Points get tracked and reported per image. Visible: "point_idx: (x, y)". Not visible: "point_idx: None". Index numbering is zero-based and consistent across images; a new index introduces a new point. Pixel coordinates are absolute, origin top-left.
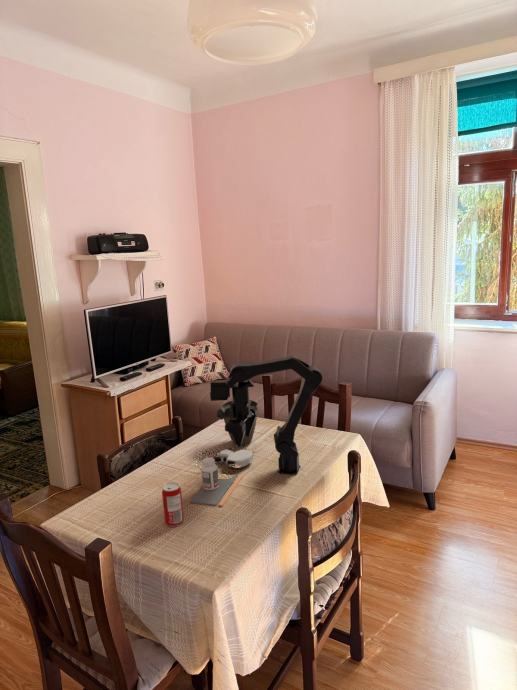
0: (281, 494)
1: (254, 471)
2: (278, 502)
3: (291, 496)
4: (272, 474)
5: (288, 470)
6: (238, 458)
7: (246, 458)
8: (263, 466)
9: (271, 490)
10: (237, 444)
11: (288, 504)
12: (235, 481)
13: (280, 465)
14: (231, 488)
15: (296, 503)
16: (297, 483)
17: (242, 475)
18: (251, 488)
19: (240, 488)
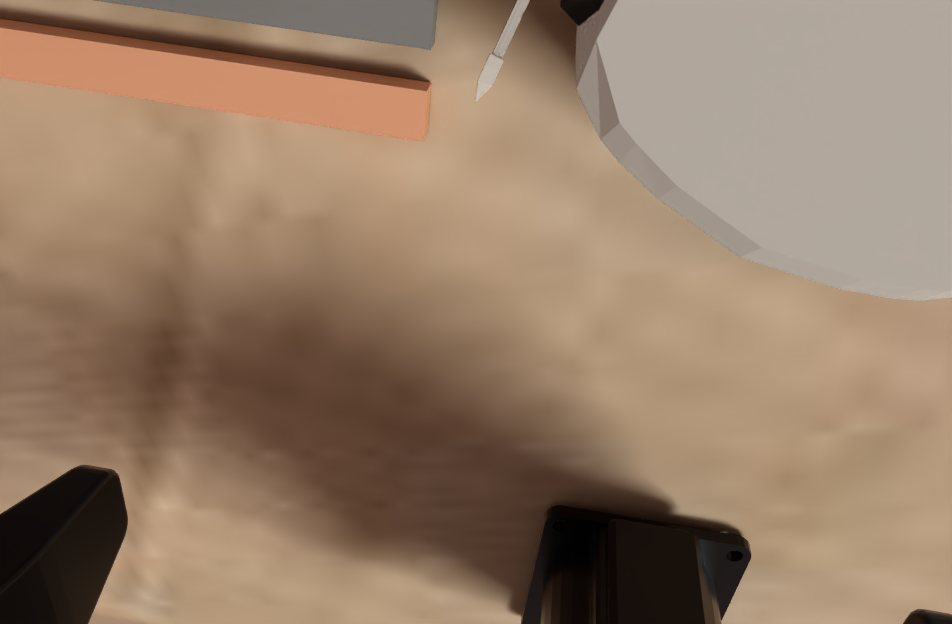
0: (149, 519)
1: (595, 258)
2: None
3: (147, 577)
4: (522, 447)
5: (543, 600)
6: (703, 85)
7: (713, 228)
8: (742, 349)
9: (188, 450)
10: (7, 531)
11: None
12: (215, 64)
13: (593, 574)
14: (13, 48)
15: None
16: (367, 617)
17: (408, 135)
18: (161, 274)
19: (115, 150)
